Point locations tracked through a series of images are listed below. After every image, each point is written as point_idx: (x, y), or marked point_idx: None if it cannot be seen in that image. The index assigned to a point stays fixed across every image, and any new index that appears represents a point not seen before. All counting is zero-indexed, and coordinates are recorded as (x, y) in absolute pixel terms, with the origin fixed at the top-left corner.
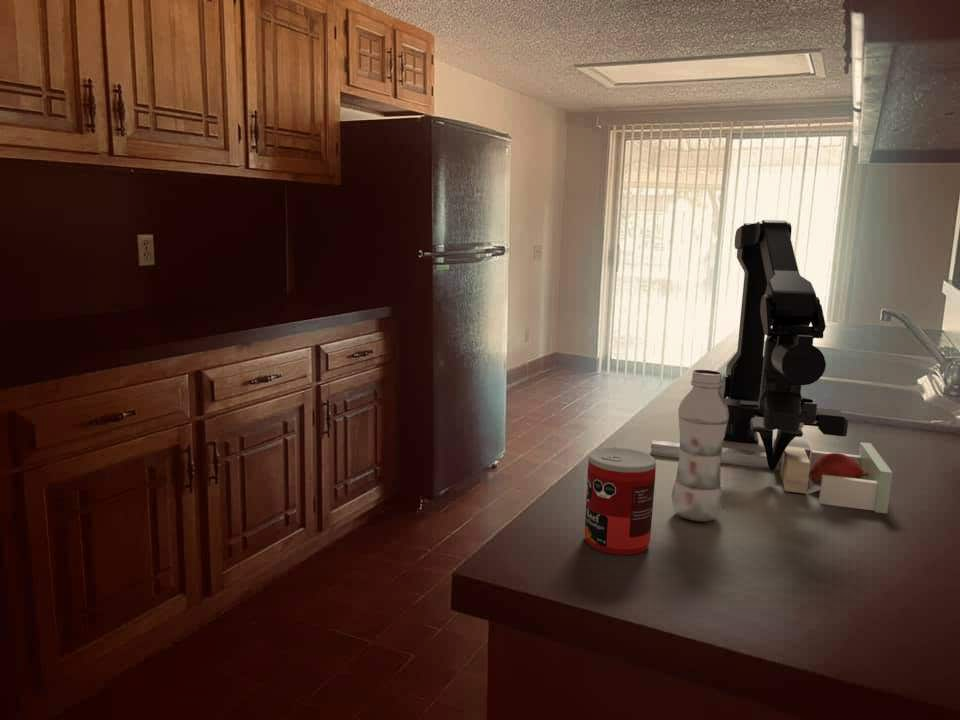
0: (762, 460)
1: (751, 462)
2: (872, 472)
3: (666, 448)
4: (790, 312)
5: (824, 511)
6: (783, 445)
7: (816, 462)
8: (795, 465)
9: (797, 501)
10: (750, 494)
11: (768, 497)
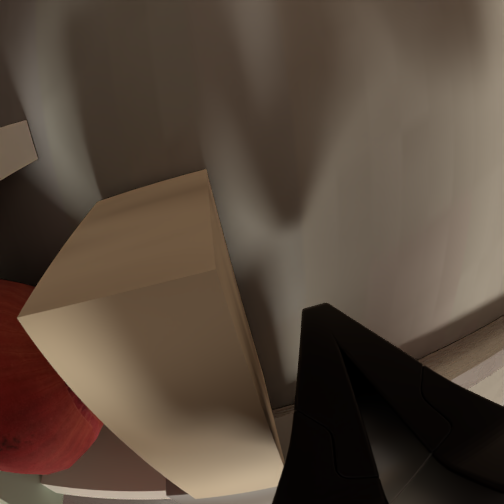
0: None
1: None
2: None
3: None
4: None
5: (4, 35)
6: (318, 466)
7: (80, 415)
8: (139, 263)
9: (122, 71)
10: (365, 44)
11: (277, 39)
